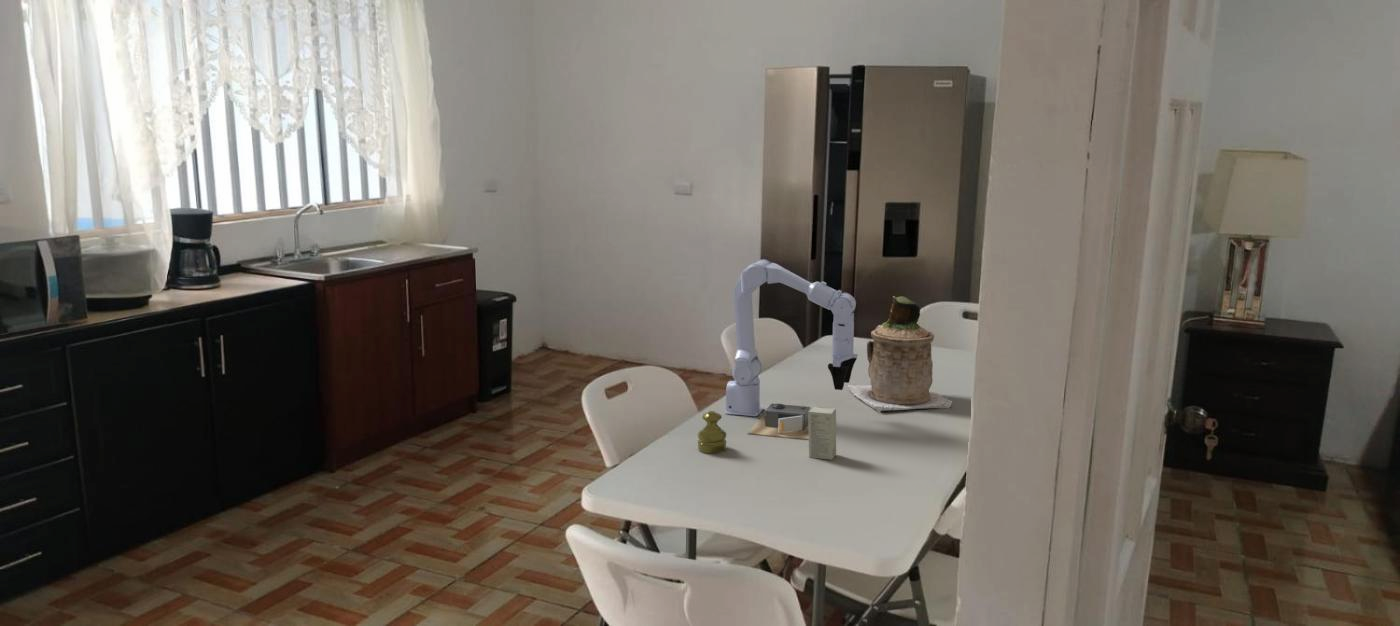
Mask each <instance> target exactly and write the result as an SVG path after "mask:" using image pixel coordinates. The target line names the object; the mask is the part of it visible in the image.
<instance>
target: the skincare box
mask: <svg viewBox="0 0 1400 626" xmlns="http://www.w3.org/2000/svg"><path fill="white" fill-rule="evenodd" d="M808 420H809V440H808V457H809V458H812V459H821V460H830V461H831V460H833V459H834V458H835V456H836V455H837V409H836V408H834V407H833V408H832V407H831V408H830V407H822V406H821V407H820V406H812V407H810V410H809V411H808Z"/></svg>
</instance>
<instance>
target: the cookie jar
mask: <svg viewBox="0 0 1400 626" xmlns="http://www.w3.org/2000/svg"><path fill="white" fill-rule="evenodd" d="M891 297H892V304H891V308H890V311H889V312H890V313H889V318H888V320H887V321H886V322H882V324H879V325H877V326H876V327H875V329H873V330H872V331H871V333H870V335H871V336H870V337H871V338H872V339H873V341H871V340H868V341H866V358H867V361H868V370H867V372H868V377H869V380H870V384H869V385H868V384H867V385H860V384H859V385H856V384H848V385H847V386H848V387H849V389H850V391H851V393H852V394H853V396H854V397H856V398H857V399H859V400H860V401H862V402H863V403H865V404H866V405H867V406H868V407H870V408H873V410H874V411H875V410H876V413H878V414H881V413H882V412H884V411H902V410H903V411H905V410H918V409H950V408H951V406H952V404H953V400H950V399H948V398H946V397H945V396H942V395H940V394H939V393H937V392H934V391H932V390H930V389H931V387H932V384H933V373H934V372H933V369H934V368H933V359H932V342H933V341H934V338H935V334H934V333H933V332H931V331H928V330H927V329H926V328H923V327H922V326H921V325H919V323H918V321H919V318H920V316H921V309H920V305H918V304H917V303H916V302H914V301H912V300H910V298H907V297H906V296H903V295H900V296H897V297H896V296H895V295H893V296H891Z"/></svg>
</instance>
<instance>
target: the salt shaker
mask: <svg viewBox="0 0 1400 626" xmlns="http://www.w3.org/2000/svg"><path fill="white" fill-rule="evenodd" d="M701 417H702V419H703V420H704V421H705V422H706V424H705V426H704V427H702V429H700V430H699V431H698V432H697V438H698V440H697V449H698V451H700V452H702V453H705V454H718V453H719V454H720V453H723V452H724V451H726V449H727V440H726V438H727V432H726V430H724V429H723V428H722V427H721V426H719V425H718V422H719V421H720V420H721V419H722V414H720V413H718V412H716V411H714V410H711V411H708V412H705V413H704V414H702V416H701Z"/></svg>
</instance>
